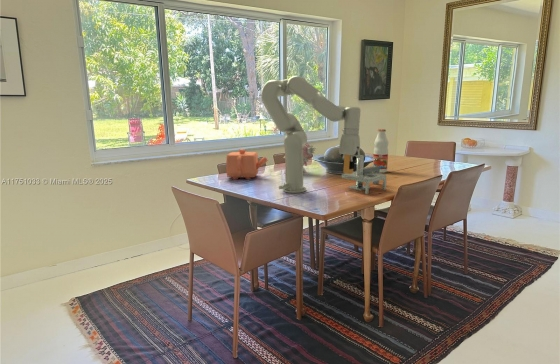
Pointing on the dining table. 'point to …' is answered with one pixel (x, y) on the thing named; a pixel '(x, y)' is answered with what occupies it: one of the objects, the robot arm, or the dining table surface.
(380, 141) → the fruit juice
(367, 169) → the bracket
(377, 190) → the dining table surface
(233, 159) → the teapot
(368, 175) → the grey metal piece
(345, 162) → the mustard rectangular block
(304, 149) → the flower
